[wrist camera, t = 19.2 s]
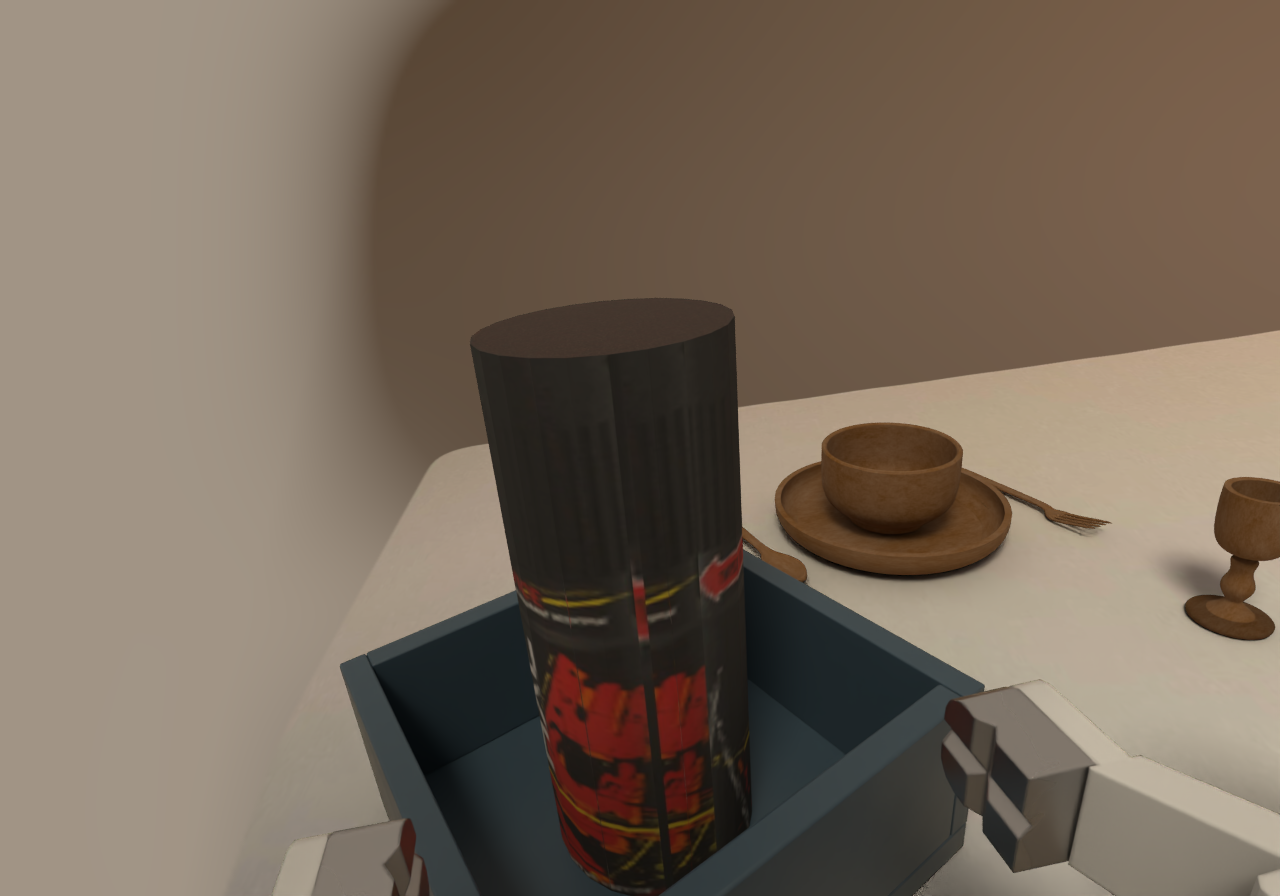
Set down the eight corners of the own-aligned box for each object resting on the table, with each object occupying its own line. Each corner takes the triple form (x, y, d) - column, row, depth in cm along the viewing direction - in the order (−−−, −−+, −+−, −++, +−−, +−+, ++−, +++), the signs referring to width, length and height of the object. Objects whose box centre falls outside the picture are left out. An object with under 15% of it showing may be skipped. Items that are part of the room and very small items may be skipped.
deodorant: (527, 791, 22) (432, 331, 16) (673, 704, 25) (636, 291, 19) (628, 946, 17) (546, 377, 11) (793, 815, 20) (792, 313, 14)
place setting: (940, 456, 45) (948, 370, 43) (1300, 625, 27) (1345, 493, 25) (699, 516, 40) (693, 423, 38) (945, 769, 22) (962, 622, 20)
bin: (554, 1248, 13) (504, 1069, 11) (383, 805, 23) (338, 663, 21) (964, 845, 20) (986, 684, 18) (695, 637, 30) (687, 517, 27)
